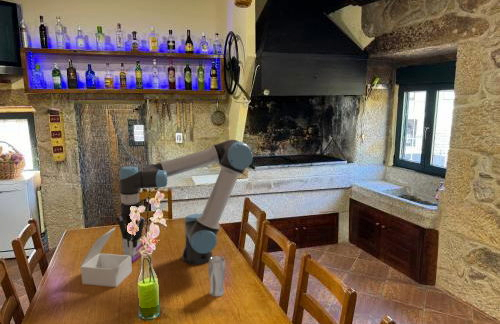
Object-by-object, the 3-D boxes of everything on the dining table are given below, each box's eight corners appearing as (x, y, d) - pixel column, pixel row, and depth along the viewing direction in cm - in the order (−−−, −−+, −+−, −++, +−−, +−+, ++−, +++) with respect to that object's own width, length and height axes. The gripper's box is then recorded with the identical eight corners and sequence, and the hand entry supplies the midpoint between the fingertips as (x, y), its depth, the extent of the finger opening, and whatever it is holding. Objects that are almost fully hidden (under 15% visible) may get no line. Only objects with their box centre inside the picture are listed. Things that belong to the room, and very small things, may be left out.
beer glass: (206, 291, 147) (205, 257, 145) (221, 286, 151) (220, 254, 148) (212, 299, 141) (212, 264, 139) (228, 294, 145) (228, 261, 142)
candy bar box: (134, 253, 183) (132, 223, 180) (143, 254, 182) (141, 224, 179) (123, 263, 172) (121, 231, 169) (132, 264, 171) (130, 232, 168)
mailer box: (131, 271, 163) (131, 255, 162) (116, 287, 150) (115, 269, 148) (100, 268, 166) (99, 253, 165) (82, 283, 152) (80, 266, 151)
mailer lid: (115, 228, 161) (114, 227, 161) (98, 239, 147) (96, 238, 147) (99, 253, 165) (98, 252, 165) (80, 266, 151) (79, 265, 151)
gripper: (111, 204, 147) (114, 256, 151) (140, 205, 145) (142, 258, 149) (120, 199, 154) (123, 249, 158) (148, 200, 152) (150, 251, 156)
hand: (132, 253), depth 154 cm, fingers closed
